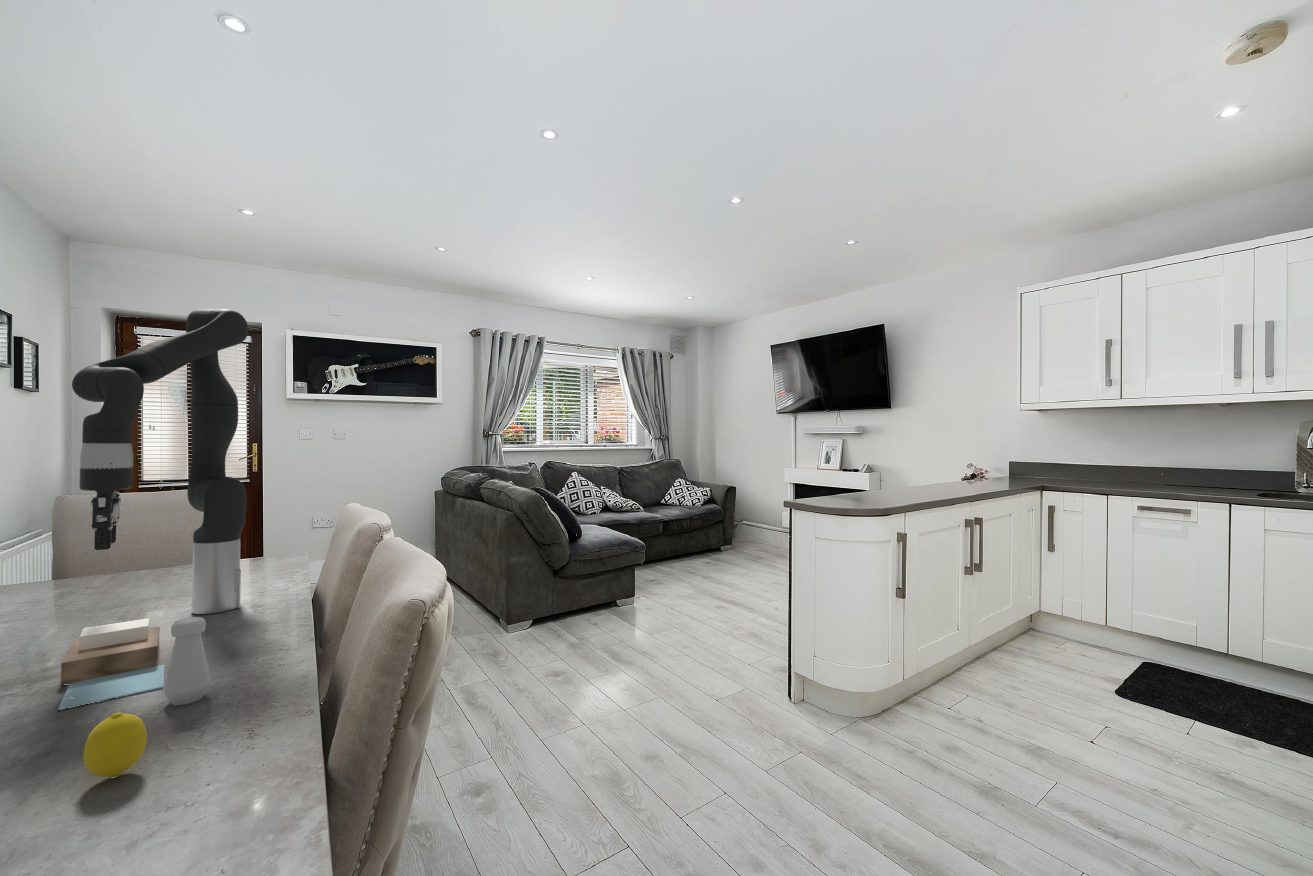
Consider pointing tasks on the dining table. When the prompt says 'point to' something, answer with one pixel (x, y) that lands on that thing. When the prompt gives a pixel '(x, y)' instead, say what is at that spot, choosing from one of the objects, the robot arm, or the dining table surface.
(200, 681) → the salt shaker
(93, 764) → the lemon
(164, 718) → the dining table surface
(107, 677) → the mat
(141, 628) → the white bevelled block
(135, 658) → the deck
